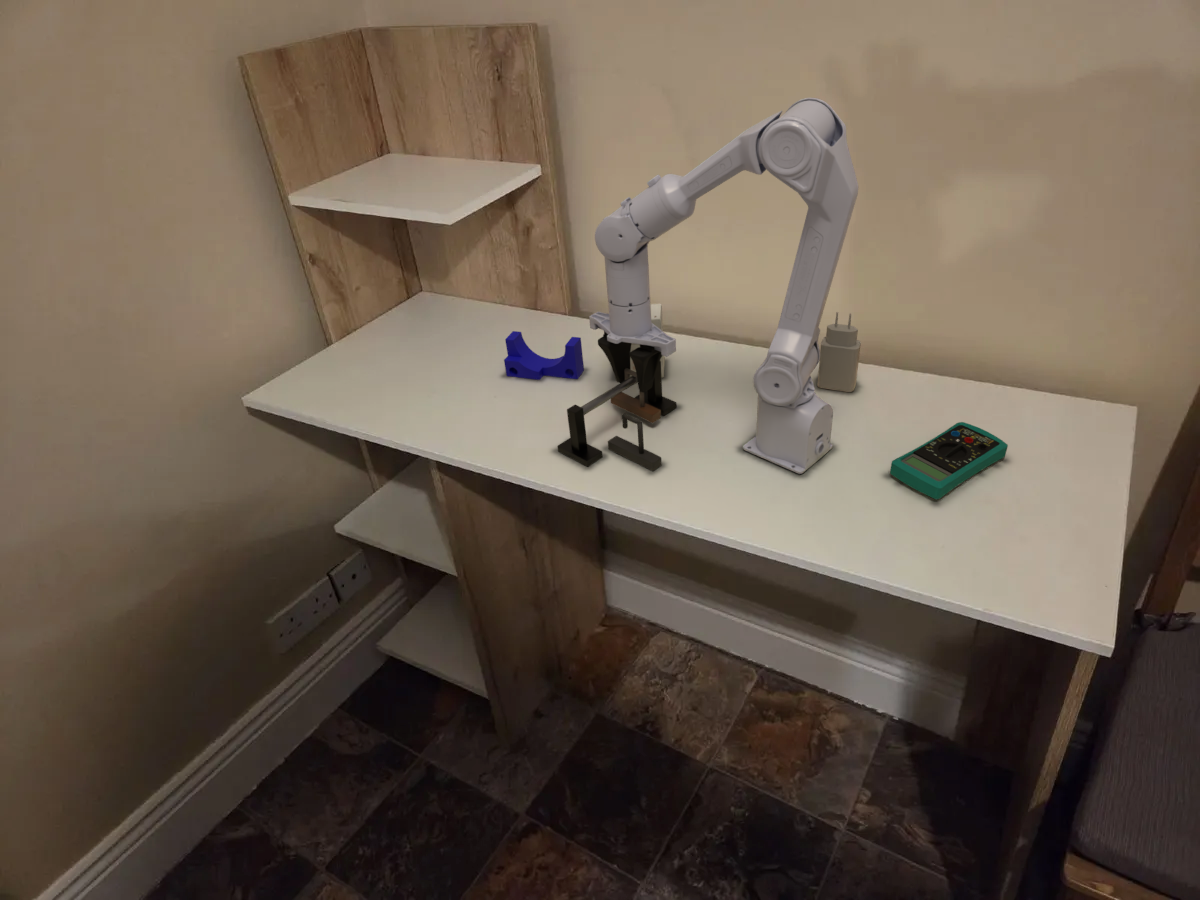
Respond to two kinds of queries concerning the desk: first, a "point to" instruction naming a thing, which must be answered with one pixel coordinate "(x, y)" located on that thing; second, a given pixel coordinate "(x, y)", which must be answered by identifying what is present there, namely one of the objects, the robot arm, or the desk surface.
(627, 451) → the black hanger
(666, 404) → the rail stand
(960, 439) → the digital multimeter
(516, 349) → the blue curved cradle bracket
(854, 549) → the desk surface
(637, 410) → the walnut hanger
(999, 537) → the desk surface
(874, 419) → the desk surface
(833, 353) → the power adapter
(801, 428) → the robot arm
